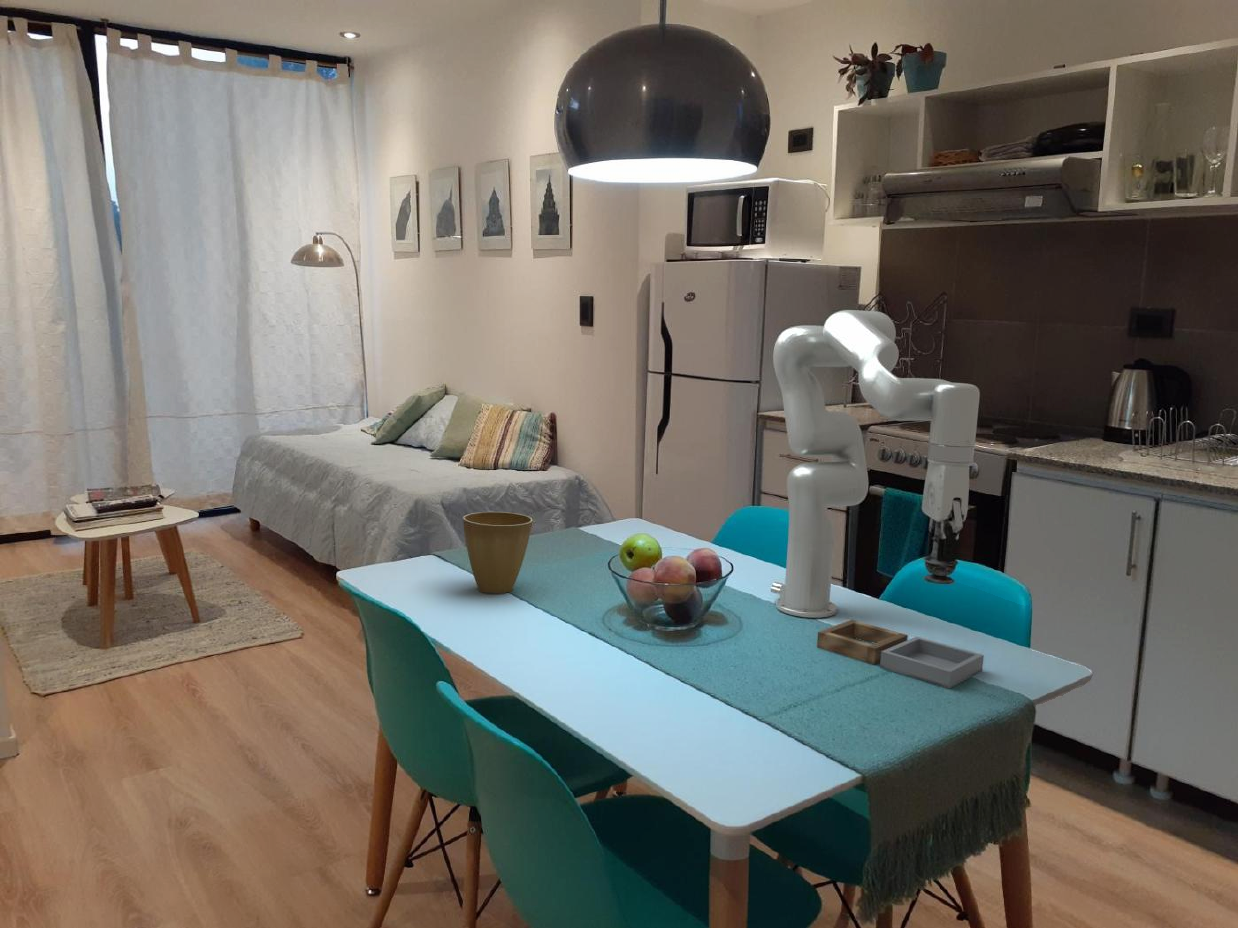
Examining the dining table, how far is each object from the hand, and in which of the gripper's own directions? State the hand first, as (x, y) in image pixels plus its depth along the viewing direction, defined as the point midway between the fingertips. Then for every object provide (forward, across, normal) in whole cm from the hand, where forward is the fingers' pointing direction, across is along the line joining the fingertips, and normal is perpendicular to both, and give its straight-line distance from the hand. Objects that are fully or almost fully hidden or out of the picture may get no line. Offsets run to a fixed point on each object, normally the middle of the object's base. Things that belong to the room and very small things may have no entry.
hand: (941, 556), depth 171 cm
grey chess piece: (+5, 0, 0) cm, 5 cm away
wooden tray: (+21, -10, -10) cm, 25 cm away
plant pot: (+21, -41, -82) cm, 94 cm away
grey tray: (+21, 0, 0) cm, 21 cm away
